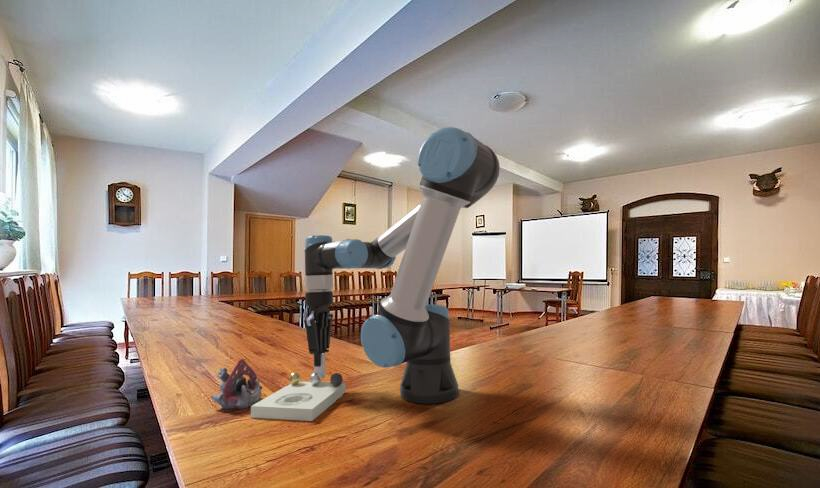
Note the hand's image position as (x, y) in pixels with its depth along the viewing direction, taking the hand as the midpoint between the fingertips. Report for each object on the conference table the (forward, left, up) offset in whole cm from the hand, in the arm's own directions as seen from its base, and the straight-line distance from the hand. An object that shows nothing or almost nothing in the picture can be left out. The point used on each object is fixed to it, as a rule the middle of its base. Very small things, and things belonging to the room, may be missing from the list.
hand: (319, 377), depth 98 cm
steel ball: (0, +3, 0) cm, 3 cm away
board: (0, +10, -4) cm, 10 cm away
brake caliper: (+16, +11, -4) cm, 20 cm away
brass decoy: (+6, +3, 0) cm, 7 cm away
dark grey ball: (-6, +3, 0) cm, 7 cm away
